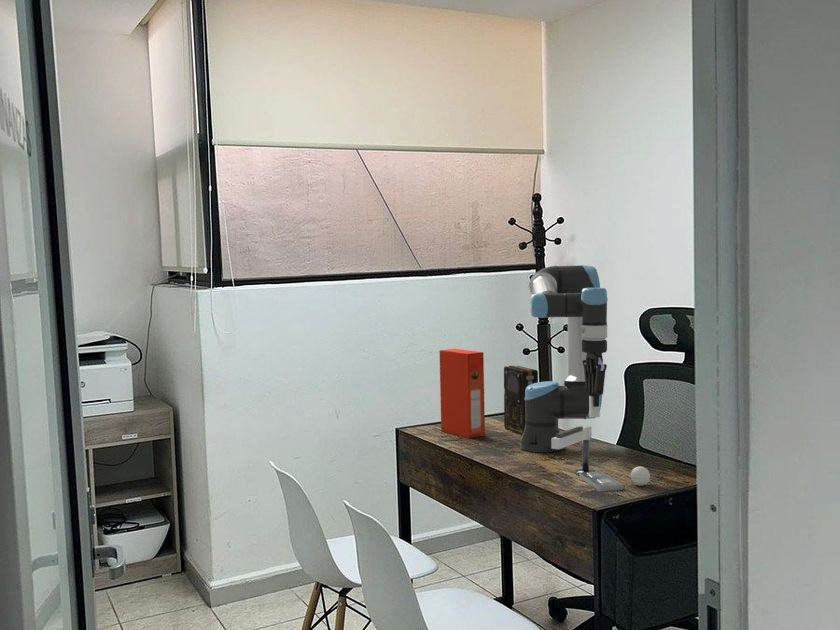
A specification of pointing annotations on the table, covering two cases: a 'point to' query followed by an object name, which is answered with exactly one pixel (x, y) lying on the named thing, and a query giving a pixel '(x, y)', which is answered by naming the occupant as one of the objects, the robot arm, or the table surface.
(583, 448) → the post
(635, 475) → the white egg shape
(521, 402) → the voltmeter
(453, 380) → the file binder
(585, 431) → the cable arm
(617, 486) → the plate
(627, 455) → the table surface
